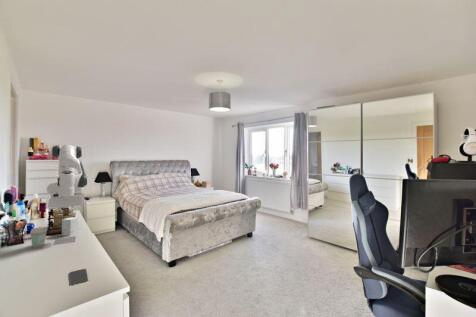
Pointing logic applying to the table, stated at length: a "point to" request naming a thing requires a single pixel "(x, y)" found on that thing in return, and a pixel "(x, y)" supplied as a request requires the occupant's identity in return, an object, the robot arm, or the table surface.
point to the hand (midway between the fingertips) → (66, 212)
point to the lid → (65, 214)
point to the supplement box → (69, 226)
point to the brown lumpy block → (57, 222)
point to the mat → (64, 240)
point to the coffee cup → (38, 236)
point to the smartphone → (78, 276)
